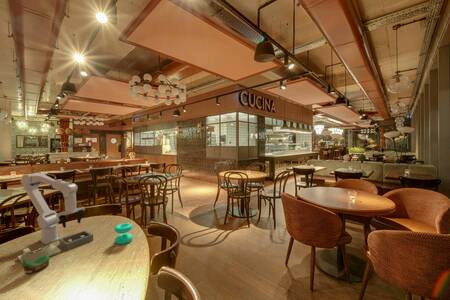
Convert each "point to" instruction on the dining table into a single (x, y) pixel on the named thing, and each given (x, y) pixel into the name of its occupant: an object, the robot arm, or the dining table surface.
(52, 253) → the lid
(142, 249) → the dining table surface
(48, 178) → the robot arm
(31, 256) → the food container
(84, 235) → the tub
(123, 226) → the donuts
